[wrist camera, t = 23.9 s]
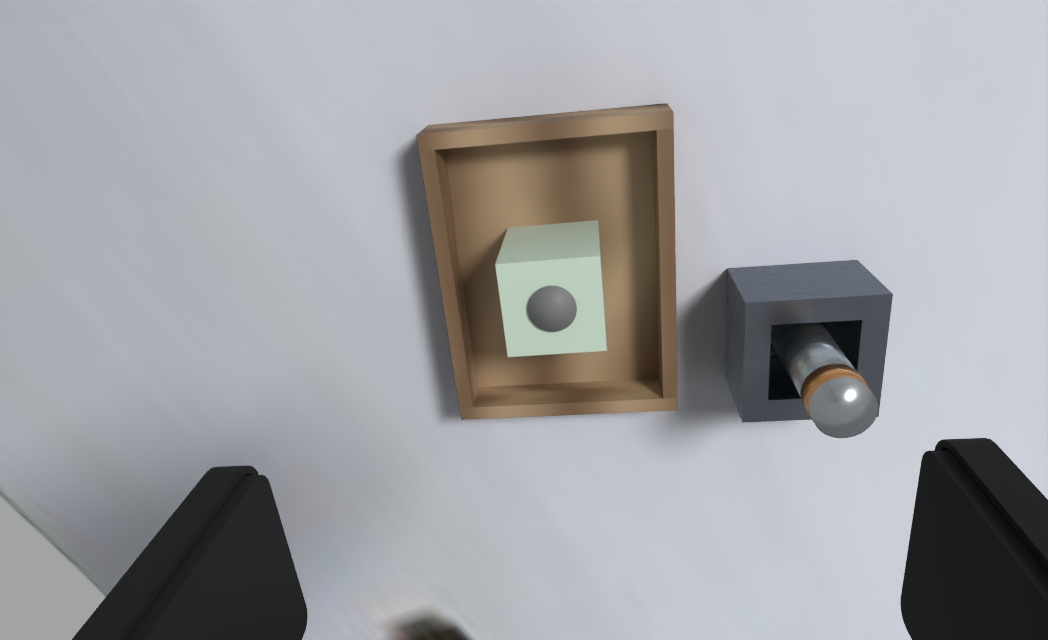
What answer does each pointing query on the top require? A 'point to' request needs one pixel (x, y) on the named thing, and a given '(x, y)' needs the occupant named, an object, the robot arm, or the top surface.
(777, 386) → the block
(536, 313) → the pale green block
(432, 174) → the tray
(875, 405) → the cylinder
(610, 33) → the top surface
